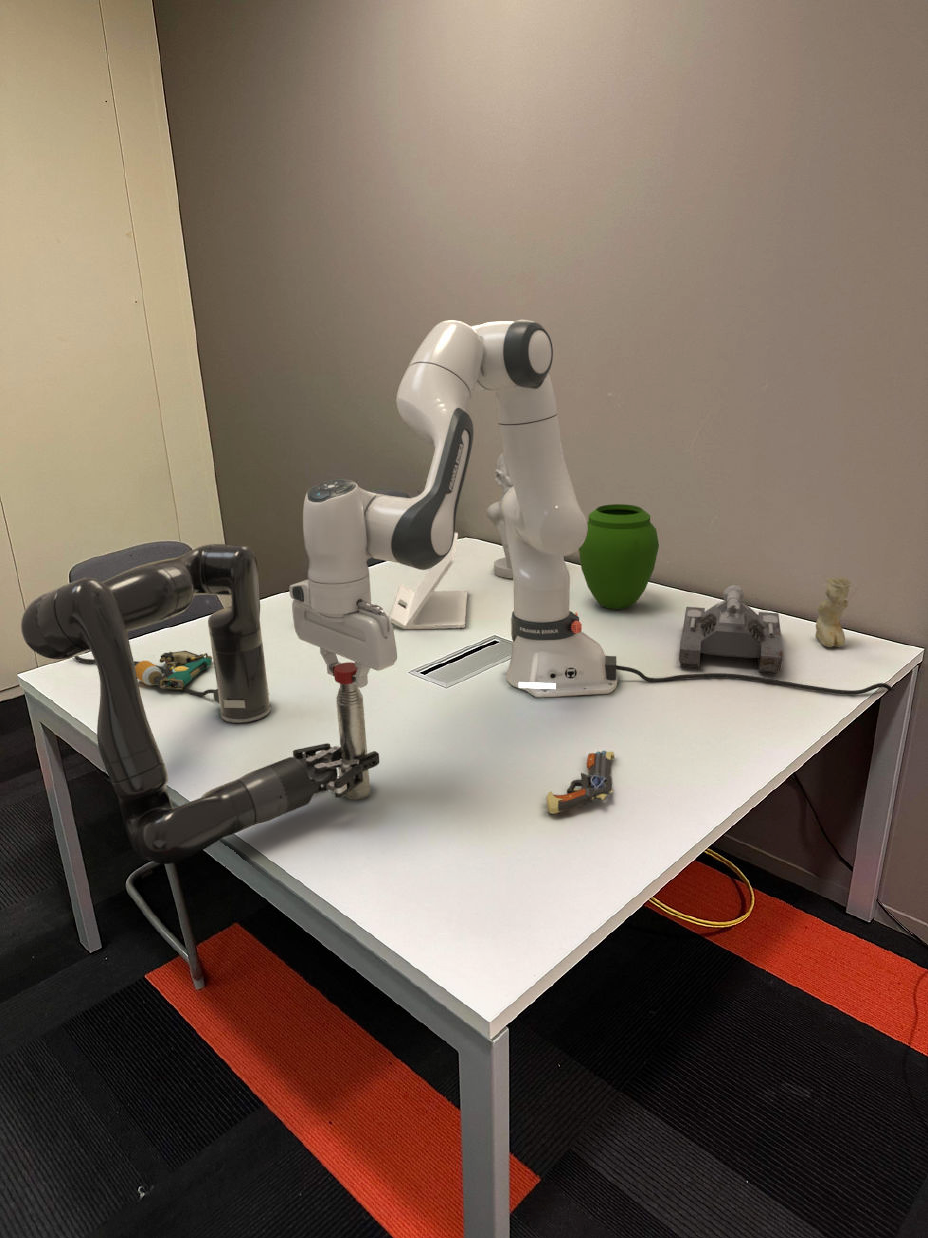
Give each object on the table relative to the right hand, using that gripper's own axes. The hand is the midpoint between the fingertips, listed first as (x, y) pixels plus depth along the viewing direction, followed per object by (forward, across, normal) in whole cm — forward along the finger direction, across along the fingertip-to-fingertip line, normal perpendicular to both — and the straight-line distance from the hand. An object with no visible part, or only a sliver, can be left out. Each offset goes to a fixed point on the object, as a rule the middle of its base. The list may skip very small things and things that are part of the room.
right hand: (347, 679), depth 129 cm
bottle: (+20, 0, 0) cm, 20 cm away
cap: (-2, 0, 0) cm, 2 cm away
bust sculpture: (+20, +52, -103) cm, 117 cm away
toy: (+20, -17, -90) cm, 93 cm away
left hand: (+13, 0, -3) cm, 14 cm away
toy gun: (+20, -26, -25) cm, 41 cm away
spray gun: (+20, +64, -4) cm, 67 cm away
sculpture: (+20, -32, -107) cm, 114 cm away
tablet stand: (+20, +52, -66) cm, 86 cm away
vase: (+20, +18, -99) cm, 103 cm away
